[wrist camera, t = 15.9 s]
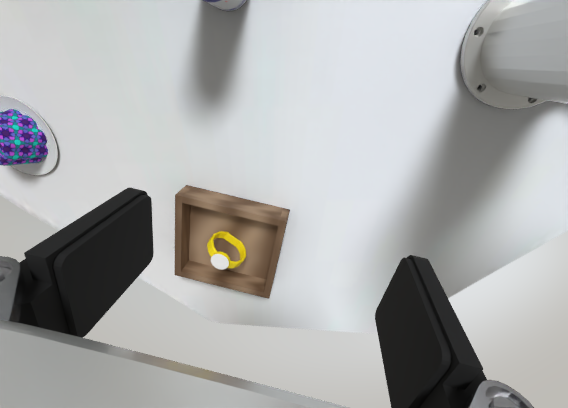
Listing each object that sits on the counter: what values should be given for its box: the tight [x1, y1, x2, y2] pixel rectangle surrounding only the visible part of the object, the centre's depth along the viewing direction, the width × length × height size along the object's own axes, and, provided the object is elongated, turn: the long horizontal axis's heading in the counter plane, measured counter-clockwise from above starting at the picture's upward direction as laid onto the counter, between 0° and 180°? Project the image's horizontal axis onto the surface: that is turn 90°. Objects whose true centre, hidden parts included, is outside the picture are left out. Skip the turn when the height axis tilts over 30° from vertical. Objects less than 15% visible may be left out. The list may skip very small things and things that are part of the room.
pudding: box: [0, 95, 58, 175], centre depth 40 cm, size 12×12×5 cm
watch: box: [207, 231, 246, 270], centre depth 42 cm, size 6×3×6 cm, turn 53°
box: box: [175, 185, 290, 298], centre depth 44 cm, size 16×15×4 cm
